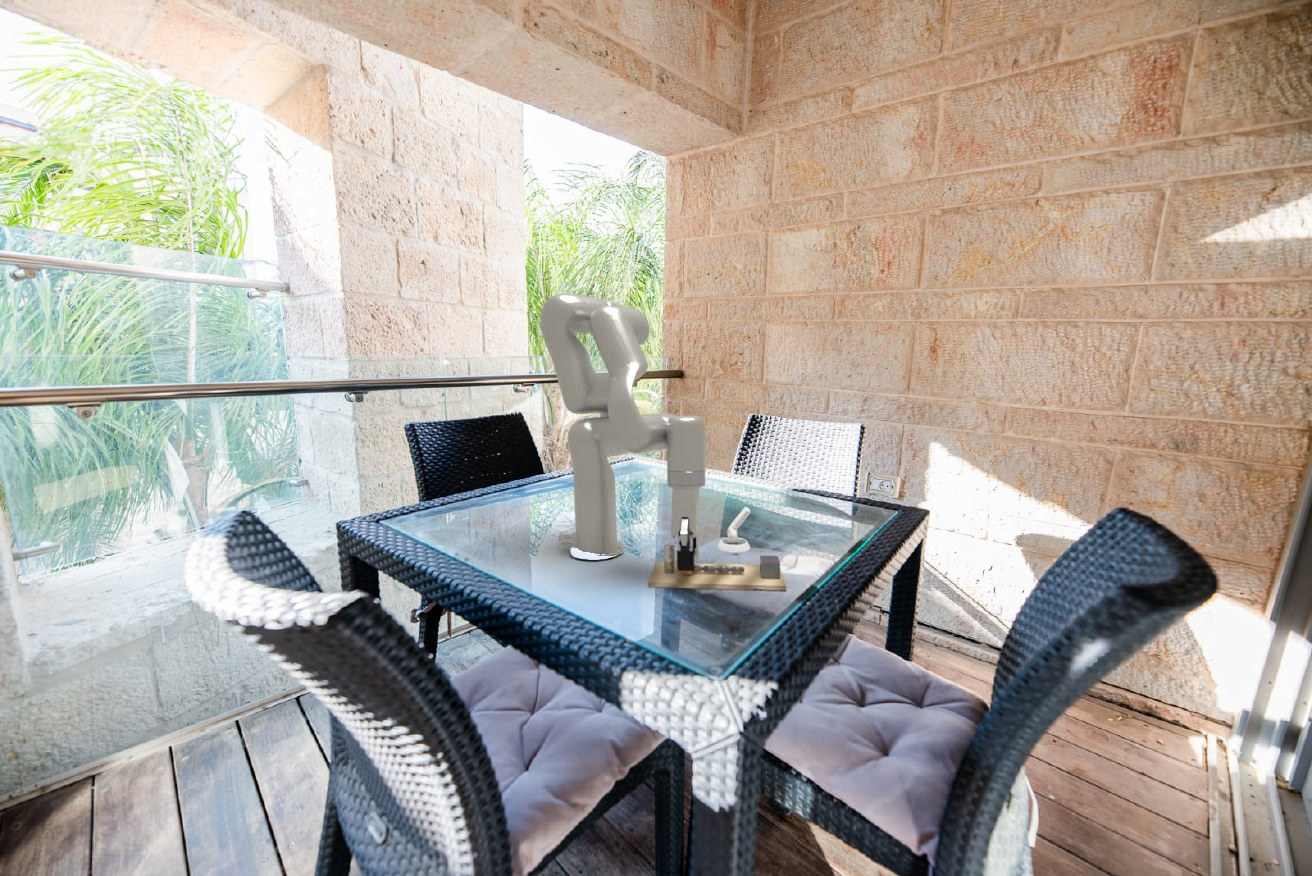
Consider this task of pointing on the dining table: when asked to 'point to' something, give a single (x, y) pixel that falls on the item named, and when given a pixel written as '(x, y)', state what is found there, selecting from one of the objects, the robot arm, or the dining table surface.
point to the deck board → (715, 578)
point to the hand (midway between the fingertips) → (687, 561)
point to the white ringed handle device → (735, 535)
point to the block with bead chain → (712, 569)
